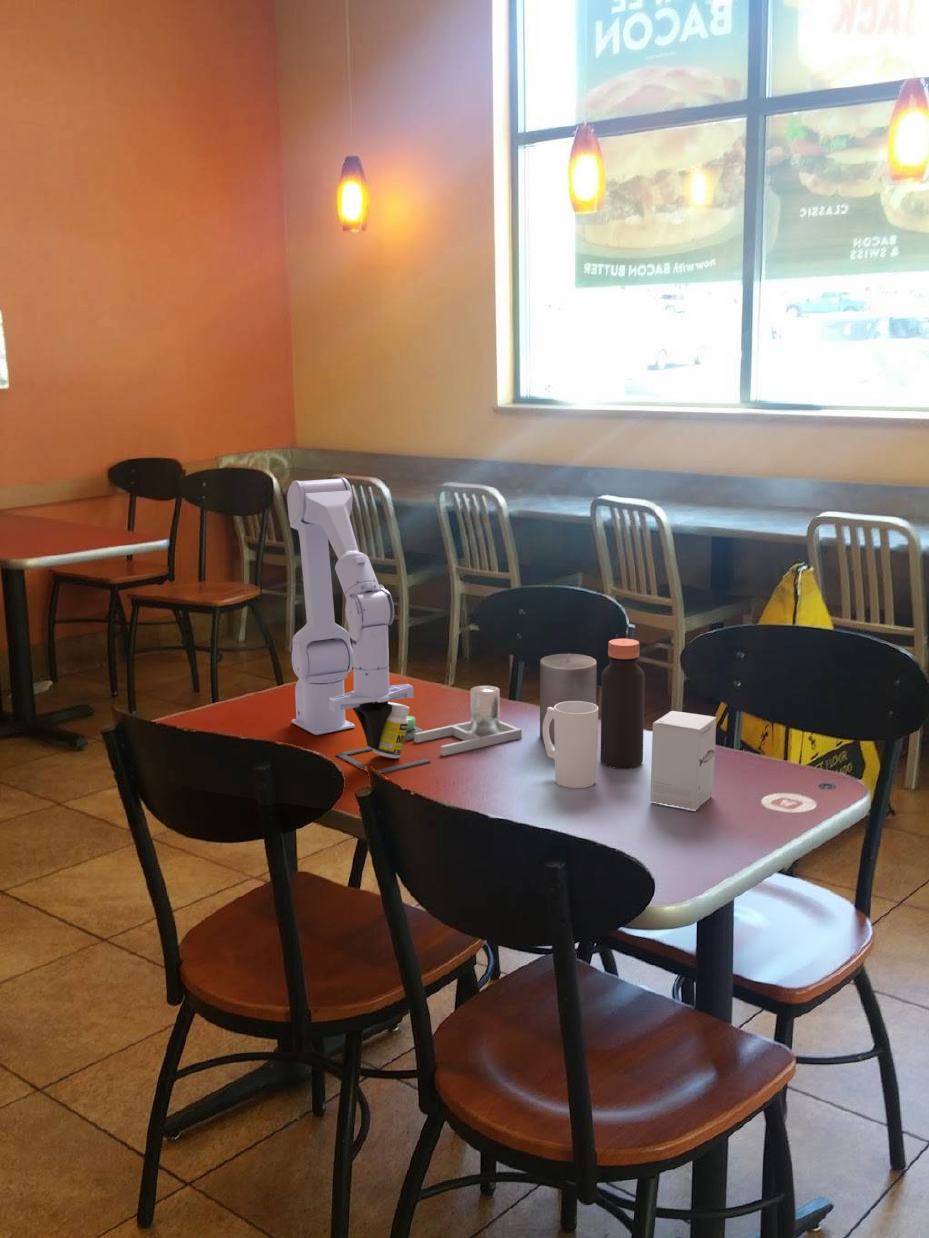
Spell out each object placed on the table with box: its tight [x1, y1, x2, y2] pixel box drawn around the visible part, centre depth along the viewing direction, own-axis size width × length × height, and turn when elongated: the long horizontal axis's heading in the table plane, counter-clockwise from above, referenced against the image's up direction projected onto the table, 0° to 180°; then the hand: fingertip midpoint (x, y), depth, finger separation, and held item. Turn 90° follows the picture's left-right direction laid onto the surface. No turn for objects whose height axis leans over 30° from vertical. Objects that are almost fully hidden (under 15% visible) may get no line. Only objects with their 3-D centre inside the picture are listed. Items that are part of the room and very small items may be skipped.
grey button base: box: [404, 725, 425, 742], centre depth 213 cm, size 4×4×1 cm
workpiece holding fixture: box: [413, 720, 522, 757], centre depth 211 cm, size 9×16×2 cm, turn 124°
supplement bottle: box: [371, 701, 410, 759], centre depth 202 cm, size 5×5×8 cm
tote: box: [335, 746, 431, 774], centre depth 202 cm, size 12×11×1 cm
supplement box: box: [649, 710, 717, 809], centre depth 181 cm, size 7×7×13 cm
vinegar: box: [600, 638, 646, 769], centre depth 197 cm, size 7×7×20 cm
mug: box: [542, 701, 600, 789], centre depth 191 cm, size 10×7×12 cm, turn 45°
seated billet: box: [470, 685, 501, 737], centre depth 212 cm, size 5×5×8 cm
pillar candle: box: [539, 652, 598, 746], centre depth 210 cm, size 10×10×15 cm
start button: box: [406, 715, 416, 732], centre depth 213 cm, size 3×3×3 cm
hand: (373, 746), depth 200 cm, fingers closed
